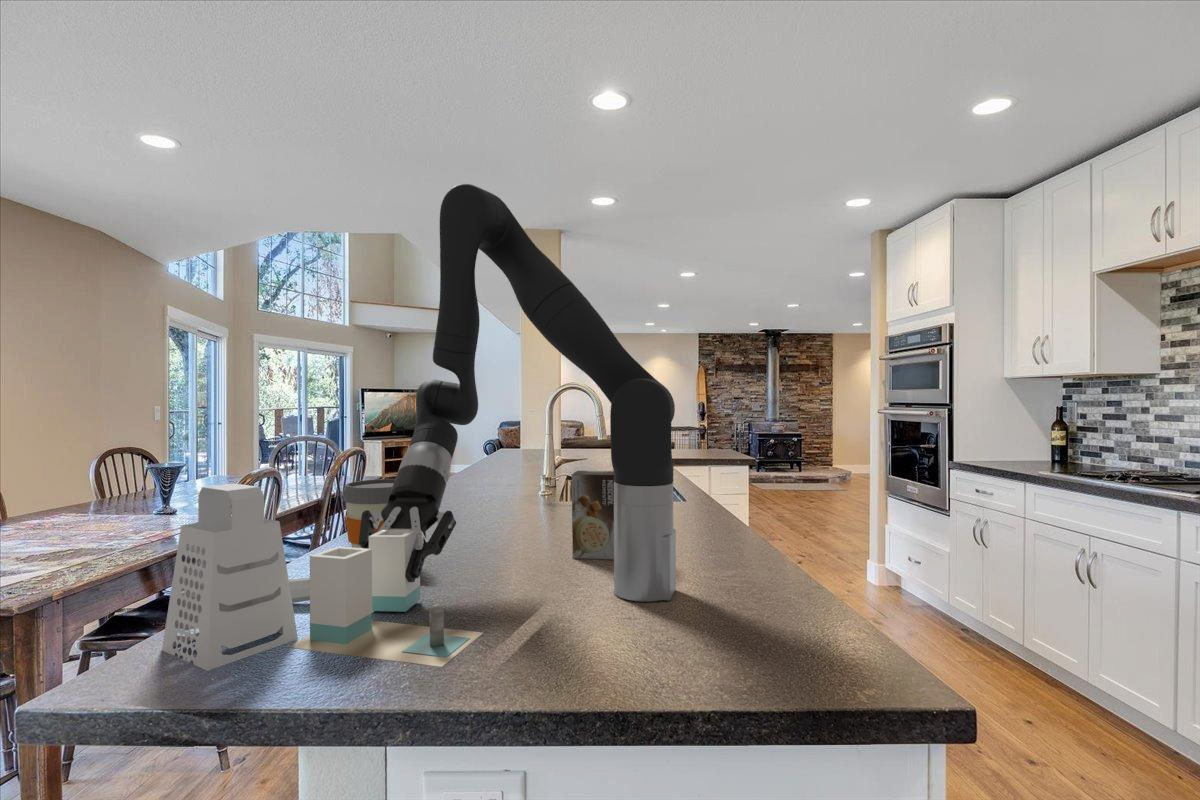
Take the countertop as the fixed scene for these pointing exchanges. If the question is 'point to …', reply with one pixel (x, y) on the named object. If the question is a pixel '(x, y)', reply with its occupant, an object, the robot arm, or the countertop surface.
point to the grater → (229, 579)
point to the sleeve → (393, 570)
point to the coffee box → (593, 514)
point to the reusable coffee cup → (364, 503)
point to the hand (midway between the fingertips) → (389, 578)
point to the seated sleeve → (340, 594)
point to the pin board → (402, 642)
